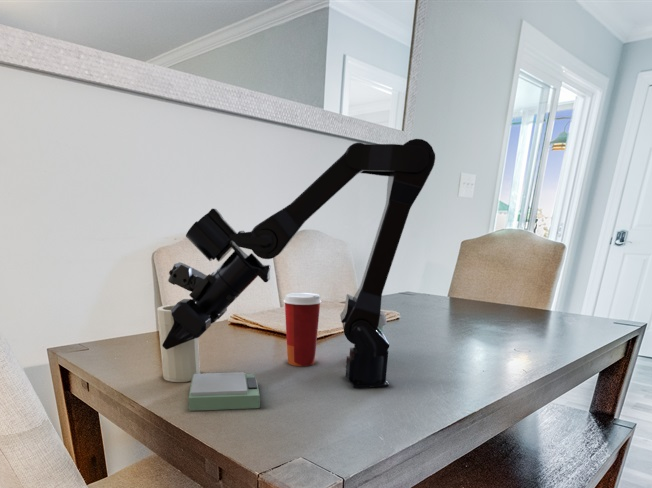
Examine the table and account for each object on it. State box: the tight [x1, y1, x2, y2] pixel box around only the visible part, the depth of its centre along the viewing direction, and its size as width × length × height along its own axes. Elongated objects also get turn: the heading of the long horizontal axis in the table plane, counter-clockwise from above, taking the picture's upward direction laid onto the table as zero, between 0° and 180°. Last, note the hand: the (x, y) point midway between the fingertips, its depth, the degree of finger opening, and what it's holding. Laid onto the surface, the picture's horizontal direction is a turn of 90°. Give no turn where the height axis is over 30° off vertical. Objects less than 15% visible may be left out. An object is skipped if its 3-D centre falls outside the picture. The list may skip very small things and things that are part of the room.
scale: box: [187, 371, 261, 412], centre depth 77 cm, size 11×11×3 cm
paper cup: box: [282, 292, 323, 367], centre depth 94 cm, size 8×8×14 cm
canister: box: [156, 304, 201, 383], centre depth 85 cm, size 7×7×13 cm
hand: (172, 341), depth 85 cm, fingers open, 9 cm apart
